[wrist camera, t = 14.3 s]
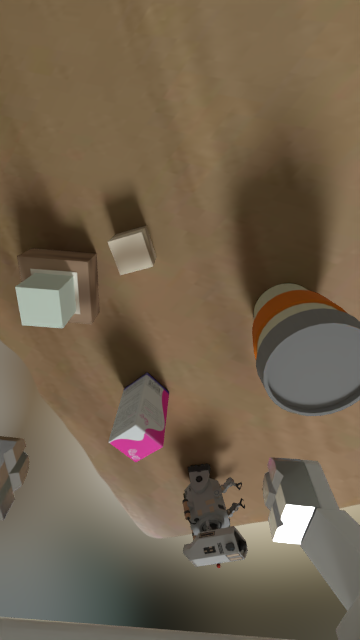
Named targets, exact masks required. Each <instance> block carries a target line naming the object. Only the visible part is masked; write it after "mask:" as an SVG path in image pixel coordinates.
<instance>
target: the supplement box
mask: <svg viewBox="0 0 360 640" xmlns="http://www.w3.org/2000/svg"><path fill="white" fill-rule="evenodd" d="M168 398H169V392H168V391H167V390H166V389H165V388H164V387H163V386H162V385H161V384H160V383H158V382H157V381H156V380H155V379H154V378H153V377H152V376H151V375H150V374H149V373H146V374H144V375H143V376H141V377H140V378H139V379H137V380H136V381H134V382H133V383H131V384H130V385H129V386H127V387H126V388H124V391H123V394H122V398H121V401H120V405H119V408H118V411H117V415H116V418H115V422H114V425H113V428H112V432H111V435H110V438H109V443H110V444H112V445H113V446H114V447H116V448H117V449H118V450H120V451H121V452H123V453H124V454H125V455H127V456H128V457H129V458H131V459H132V460H133V461H135V462H137V461H139V460H141V459H143V458H144V457H146V456H147V455H149V454H151V453H153V452H155V451H156V450H158V449H160V448H162V447H163V443H164V433H165V424H166V416H167V406H168Z"/></svg>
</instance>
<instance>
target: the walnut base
mask: <svg viewBox="0 0 360 640" xmlns="http://www.w3.org/2000/svg"><path fill="white" fill-rule="evenodd" d="M17 259H18V265H19V270H20V276H21V282H23V281H24V280H26V279H27V278H28V277H30V276H31V275H33V274H34V273H42V274H54V275H66V276H73V278H74V290H75V301H76V312H75V313H74V315H73V316H72V317H71V318H70V320H69V321H68V323H81V324H92V323H93V322H94V320H95V318H96V317H97V315H98V314H99V294H98V274H97V254H96V253H83V252H71V251H59V250H46V249H34V248H31V249H29V250H28V251H26V252H24V253H22V254H20V255H18V256H17Z"/></svg>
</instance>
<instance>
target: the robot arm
mask: <svg viewBox="0 0 360 640" xmlns="http://www.w3.org/2000/svg"><path fill="white" fill-rule="evenodd" d="M25 447H26V444H25V440H24V439H21V438H13V437H2V436H0V520H4V519H5V517H6V515H7V513H8V511H9V509H10V507H11V505H12V503H13V502H14V500H15V497H14V491H15V490H17V489H18V488H20V487H21V486H22V485H23V483H24V480H25V478H26V476H27V473H28V469H29V458H28V455H27V454H26V453H25V452H24V449H25ZM268 469H269V472H267V473H266V474H265V476H264V480H263V496H264V502H265V505H266V506H267V508H268V509H269V510H270V511H271V512H270V515H269V518H268V521H269V525H270V530H271V534H272V539H273V541H276V542H284V543H295V544H301V545H300V546H301V547H302V549H303V550H304V551H305V553H306V554H307V556H308V557H309V559H310V560H311V561H312V562H313V564H314V565H315V567H316V568H317V570H318V571H319V572H320V574H321V575H322V576H323V578H324V579H325V581H326V582H327V583H328V585H329V586H330V587H331V589H332V590H333V592H334V593H335V594H336V596H337V597H338V598H339V600H340V601H341V603H342V604H343V605H344V607H345V608H346V610H347V611H348V612H347V613H346V615H345V616H344V617H343V619H342V620H341V622H340V623H339V625H338V627H337V628H336V633H337V636H338V640H360V525H359V524H358V523H357V522H356V521H355V520H354V519H353V518H352V517H351V516H350V515H349V514H348V513H347V512H346V511H344V510H339V507H338V505H337V503H336V500H335V498H334V496H333V493H332V491H331V489H330V486H329V484H328V482H327V479H326V477H325V475H324V472H323V470H322V468H321V465H320V464H319V462H318V461H311V460H300V459H287V458H270V459H269V462H268ZM0 640H290V639H277V638H264V637H252V636H238V635H227V634H214V633H200V632H188V631H175V630H162V629H149V628H137V627H124V626H112V625H98V624H86V623H72V622H59V621H48V620H35V619H21V618H8V617H0Z"/></svg>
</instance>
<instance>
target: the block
mask: <svg viewBox="0 0 360 640" xmlns="http://www.w3.org/2000/svg"><path fill="white" fill-rule="evenodd" d="M108 244H109V247H110V249H111V252H112V255H113V257H114V260H115V262H116V265H117V268H118V270H119V273H120V275H123V274H127V273H131V272H134V271H138V270H142V269H145V268H149V267H153V265H154V263H155V260H156V254H155V251H154V248H153V244H152V241H151V238H150V235H149V232H148V229H147V226H143V227H139V228H136V229H132V230H129V231H126V232H122V233H119V234H115V235H114V236H113V237H112V238H111V239H110V240H109V241H108Z"/></svg>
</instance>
